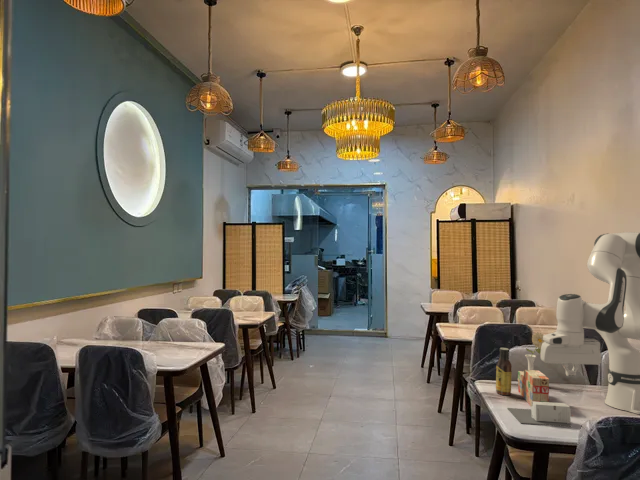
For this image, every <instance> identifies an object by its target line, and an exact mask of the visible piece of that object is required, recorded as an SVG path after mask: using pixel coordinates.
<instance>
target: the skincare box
mask: <svg viewBox="0 0 640 480" xmlns="http://www.w3.org/2000/svg"><path fill="white" fill-rule="evenodd" d="M530 409H531V412H532V418H533V419H535V420H536V421H546V422H561V423H568V424H571V416H572V415H571V406H570V405H568V404H567V403H565V402H550V401H549V402H536V401H532V407H531V406H530Z"/></svg>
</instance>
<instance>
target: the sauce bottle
mask: <svg viewBox="0 0 640 480" xmlns="http://www.w3.org/2000/svg"><path fill="white" fill-rule="evenodd" d="M498 351H499V357H498V361H497V362H496V367H495V369H496V372H495V392H496V394H498V395H500V396H501V395H502V396H511V394H512V393H511V392H512V375H513V374H512V372H513V371H512V363H511V361H510V349H509V348H507V347H500V348H499V350H498Z"/></svg>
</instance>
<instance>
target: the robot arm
mask: <svg viewBox="0 0 640 480" xmlns="http://www.w3.org/2000/svg"><path fill="white" fill-rule="evenodd" d="M586 264H587V265H586V267H587V269H588V272H589V273H590V274H591V276H593V277H594V278H596V279H597V280H599V281H600V282H601V281H602V282H603V283H606V284H609V290H608V291H609V292H608V297H607V298H608V299H607V302H605V303H602V304H601V303H593V302H586V301H584V300H583V299H582V296H581V295H579V294H575V293H569V294H567V293H566V294H565V293H564V294H561V295H560V296H559V297H558V298H557V302H556V312H555V313H556V318H555V319H556V321H557V326H556V331H554V332H550V333H547V334H543V335H544V336H543V340H544V341H545V342H543V343H542V346H541V354H540V360H541V361H542V362H544V363H545V364H558V365H559V364H561V365H562V367H563V369H564V370H565V375H566V377H571V376H572V377H576V376H577V371H578V370H579V368H580V365H597V366H598V365H601V363H602V354H601V342H600V341H599V340H598V339H596V338H585V329H590V330H595V332H597V333H598V334H599V335H600V336H601V338H602V339H603V340H604V342H605V345H606V347H607V348H606V349H607V352H608V362H609V363H608V366H609V367H608V369H607V382H608V385H607V392H606V397H605V399H604V403H605V404H606V405H607V406H609V407H611V408H615V409H618V410H621V411H622V410H623V411H624V412H625V411H626V412H630V413H633V414H635V415H637V414H638V415H640V351H639V350H638V349H637V348H635V347H633V345H632V344H630V341H629V340H628V339H631V340H637V341H640V232H635V231H634V232H633V231H623V232H614V233H609V232H608V233H603V234H600V235H598V237H597V238H596V239H595V240H594V244H593V247H592V250H591V252H590V255H589V257H588V259H587V263H586ZM624 307H625V309H624ZM584 328H585V329H584ZM569 365H572V366H573V367H572V369H569V367H570V366H569Z"/></svg>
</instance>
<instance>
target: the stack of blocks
mask: <svg viewBox="0 0 640 480" xmlns="http://www.w3.org/2000/svg"><path fill="white" fill-rule="evenodd" d="M517 379H518V380H517V385H518V387H517V389H518V391H517V392H518V393H519V394H520V395H521V396H522V398H523V399H524V400H525V401H526V402H527V403H528V404H529V406H530V408H531V407H532V401H536V402H550V401H549V399H550V397H549V394H550V378H549V377H548V376H546V374H544V373H543V372H541V371H540V370H535V369H533V370H528V369H523V371H522V370H518V371H517Z"/></svg>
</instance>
